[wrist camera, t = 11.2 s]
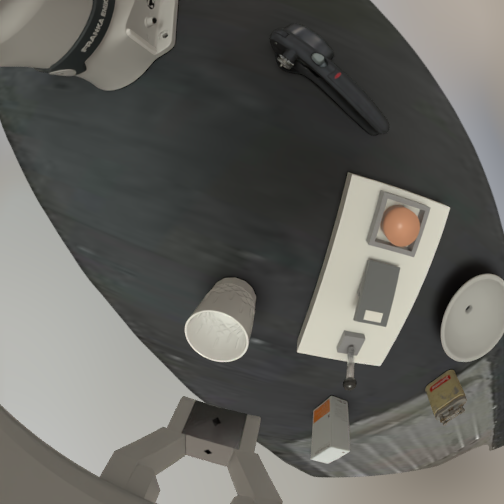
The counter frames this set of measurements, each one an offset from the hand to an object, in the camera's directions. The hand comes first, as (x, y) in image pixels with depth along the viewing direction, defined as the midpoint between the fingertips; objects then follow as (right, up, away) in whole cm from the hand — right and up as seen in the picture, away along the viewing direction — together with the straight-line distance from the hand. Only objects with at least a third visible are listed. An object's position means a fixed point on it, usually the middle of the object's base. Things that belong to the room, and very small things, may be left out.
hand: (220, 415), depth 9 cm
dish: (+37, -3, +26) cm, 45 cm away
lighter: (+38, -19, +32) cm, 54 cm away
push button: (+19, +10, +21) cm, 30 cm away
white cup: (-1, 0, +32) cm, 32 cm away
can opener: (+11, +27, +20) cm, 35 cm away
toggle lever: (+15, -7, +27) cm, 32 cm away
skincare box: (+16, -24, +38) cm, 48 cm away
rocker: (+17, +1, +23) cm, 29 cm away
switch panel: (+17, +3, +27) cm, 33 cm away
